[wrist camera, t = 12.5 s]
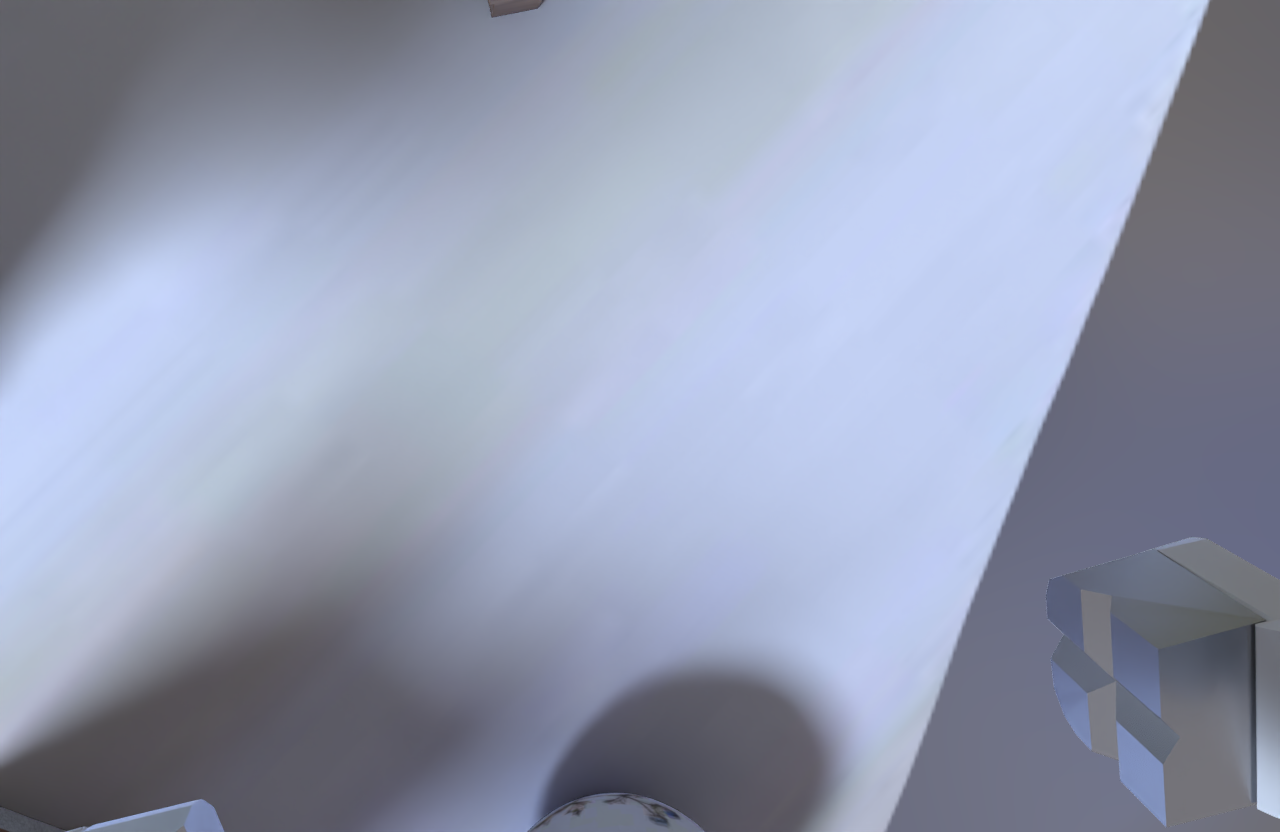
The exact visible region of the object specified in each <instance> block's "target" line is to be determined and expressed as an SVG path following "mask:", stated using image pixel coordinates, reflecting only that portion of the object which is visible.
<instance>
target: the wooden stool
mask: <svg viewBox="0 0 1280 832" xmlns="http://www.w3.org/2000/svg"><path fill="white" fill-rule="evenodd" d="M541 2H542V0H488V3H489V7H490V12H491V16H492V17H497V16H502V15H507V14H512V13H517V12H522V11H527V10H532V9H537V8H538V7H539V5H540V4H541Z"/></svg>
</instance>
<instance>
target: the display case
mask: <svg viewBox="0 0 1280 832" xmlns="http://www.w3.org/2000/svg"><path fill="white" fill-rule="evenodd" d="M0 832H66V831H65V830H62V829H60V828H57V827H54V826H52V825H49V824H46V823H43V822H41V821H38V820H35V819H32V818H30V817H27V816H24V815H22V814H19V813H16V812H13V811H11V810H8V809H5V808H2V807H0Z"/></svg>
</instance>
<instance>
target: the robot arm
mask: <svg viewBox="0 0 1280 832" xmlns="http://www.w3.org/2000/svg"><path fill="white" fill-rule="evenodd" d="M1046 606H1047V619H1048V620H1050V622H1051V623H1053V624H1054V625H1055V626H1056V627H1057V628H1058V629H1059V630H1060V631H1061V632H1062V633H1063V634H1064V635H1063V637H1062V638H1061V640H1060V642H1059V644H1058V646H1057V648H1056V650H1055V651H1054V653H1053V655H1052V657H1051V666H1052V673H1053V682H1054V689H1055V692H1056V694H1057V697H1058V700H1059V702H1060V705H1061V708H1062V711H1063V713H1064V716H1065V718H1066V719H1067V721H1068V722H1069V724H1070V726H1071V727H1072V729H1073V730H1074V732H1075V733H1076V735H1077V736H1078V737H1079V738H1080V739H1081V740H1082V741H1083V742H1084V743H1085V744H1086V746H1087V747H1088V748H1089V749H1090V750H1091V751H1092V752H1095V753H1098V754H1101V755H1104V756H1107V757H1110V758H1113V759H1115V760H1118V761H1119V769H1120V781H1121V782H1122V783H1123V784H1124V785H1125V786H1126V787H1127V788H1128V789H1129V790H1130V791H1131V792H1132V793H1133V794H1134V795H1135V796H1136V797H1137V798H1138V799H1139V800H1140V801H1141V802H1142V803H1143V804H1144V805H1145V806H1146V807H1147V808H1148V809H1149V810H1150V811H1151V812H1152V813H1153V814H1154V815H1155V816H1156V817H1157V818H1158V819H1159V821H1160V822H1161V823H1162V824H1163V825H1164V826H1165V827H1170V826H1174V825H1178V824H1182V823H1185V822H1190V821H1194V820H1198V819H1201V818H1205V817H1209V816H1213V815H1217V814H1221V813H1225V812H1229V811H1233V810H1237V809H1241V808H1245V807H1248V806H1252V805H1256V804H1257V809H1259V810H1261V811H1263V812H1265V813H1268V814H1270V815H1272V816H1274V817H1277V818H1279V819H1280V580H1278V579H1276V578H1275V577H1273V576H1271V575H1269V574H1268V573H1266V572H1264V571H1262V570H1261V569H1259V568H1257V567H1255V566H1253V565H1252V564H1250V563H1248V562H1247V561H1245V560H1243V559H1241V558H1240V557H1238V556H1236V555H1234V554H1233V553H1231V552H1229V551H1227V550H1226V549H1224V548H1222V547H1220V546H1219V545H1217V544H1215V543H1213V542H1212V541H1210V540H1208V539H1205V538H1195V537H1190V538H1187V539H1184V540H1180V541H1177V542H1174V543H1170V544H1167V545H1164V546H1161V547H1158V548H1154V549H1151V550H1148V551H1145V552H1142V553H1138V554H1135V555H1132V556H1128V557H1125V558H1121V559H1118V560H1114V561H1111V562H1107V563H1104V564H1100V565H1097V566H1093V567H1090V568H1086V569H1083V570H1079V571H1076V572H1073V573H1069V574H1066V575H1062V576H1059V577H1056V578H1052V579H1049V583H1048V588H1047V592H1046ZM66 832H224V829H223V827H222V825H221V822H220V820H219V818H218V816H217V813H216V811H215V809H214V806H212V805H211V804H209V803H207V802H206V801H204V800H203V799H199V800H195V801H190V802H186V803H182V804H178V805H174V806H170V807H165V808H161V809H157V810H153V811H149V812H145V813H141V814H136V815H132V816H128V817H124V818H120V819H116V820H111V821H107V822H103V823H99V824H95V825H92V826H91V827H85V826H84V827H80V828H77V829H73V830H70V831H66Z"/></svg>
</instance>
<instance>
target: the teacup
mask: <svg viewBox="0 0 1280 832" xmlns="http://www.w3.org/2000/svg"><path fill="white" fill-rule="evenodd" d="M528 832H705V831H704V830H703V829H702V828H701V827H700V826H699V825H697V824H696V823H695V822H694V821H693V820H691V819H690V818H688V817H687V816H685V815H684V814H682V813H681V812H680V811H678V810H676V809H674V808H672V807H670V806H668V805H666V804H664V803H662V802H659V801H657V800H654V799H651V798H647V797H644V796H640V795H635V794H629V793H603V794H596V795H591V796H586V797H582V798H580V799H577V800H574V801H571V802H569V803H567V804H565V805H563V806H561V807H559V808H557V809H556V810H554V811H552V812H551V813H549V814H548V815H547V816H545V817H544V818H543V819H541V820H540V821H538V822H537V823H536V824H535V825H534V826H533V827H532V828H531V829H530V830H529V831H528Z"/></svg>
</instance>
